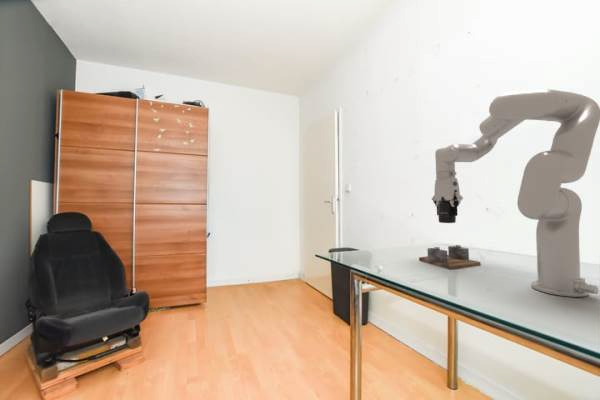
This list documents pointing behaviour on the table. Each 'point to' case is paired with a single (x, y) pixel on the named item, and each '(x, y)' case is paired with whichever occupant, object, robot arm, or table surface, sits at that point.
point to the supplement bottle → (445, 212)
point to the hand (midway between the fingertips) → (446, 215)
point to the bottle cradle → (450, 257)
